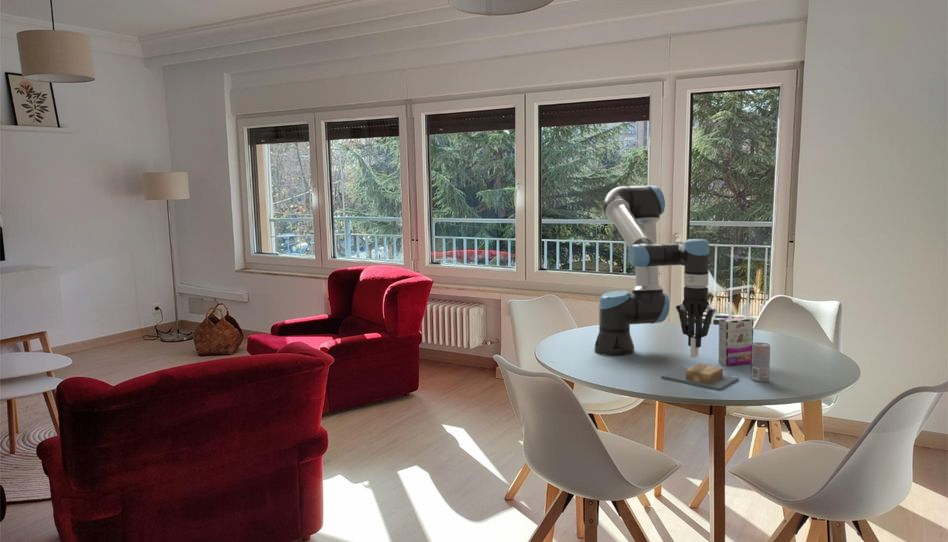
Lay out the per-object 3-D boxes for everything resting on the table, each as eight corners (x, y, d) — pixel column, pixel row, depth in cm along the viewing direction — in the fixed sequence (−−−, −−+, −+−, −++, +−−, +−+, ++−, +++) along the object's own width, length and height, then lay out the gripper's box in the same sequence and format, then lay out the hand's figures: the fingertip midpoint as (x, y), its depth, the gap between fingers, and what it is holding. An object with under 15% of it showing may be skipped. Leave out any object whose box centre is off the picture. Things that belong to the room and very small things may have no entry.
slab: (685, 370, 205) (709, 374, 199) (699, 363, 212) (722, 368, 206) (685, 379, 205) (709, 383, 199) (699, 372, 212) (722, 376, 206)
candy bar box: (743, 360, 228) (744, 316, 226) (753, 363, 224) (754, 318, 222) (717, 363, 226) (718, 318, 223) (726, 366, 221) (727, 321, 219)
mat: (661, 378, 209) (661, 375, 209) (681, 369, 219) (681, 366, 219) (720, 390, 195) (720, 388, 195) (738, 380, 205) (738, 377, 205)
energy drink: (764, 377, 208) (765, 342, 206) (772, 382, 202) (773, 346, 201) (748, 377, 208) (749, 342, 206) (755, 382, 202) (757, 346, 201)
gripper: (671, 285, 207) (670, 355, 210) (710, 289, 197) (708, 362, 200) (682, 283, 212) (681, 350, 215) (720, 286, 203) (718, 357, 206)
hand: (694, 356), depth 208 cm, fingers closed
